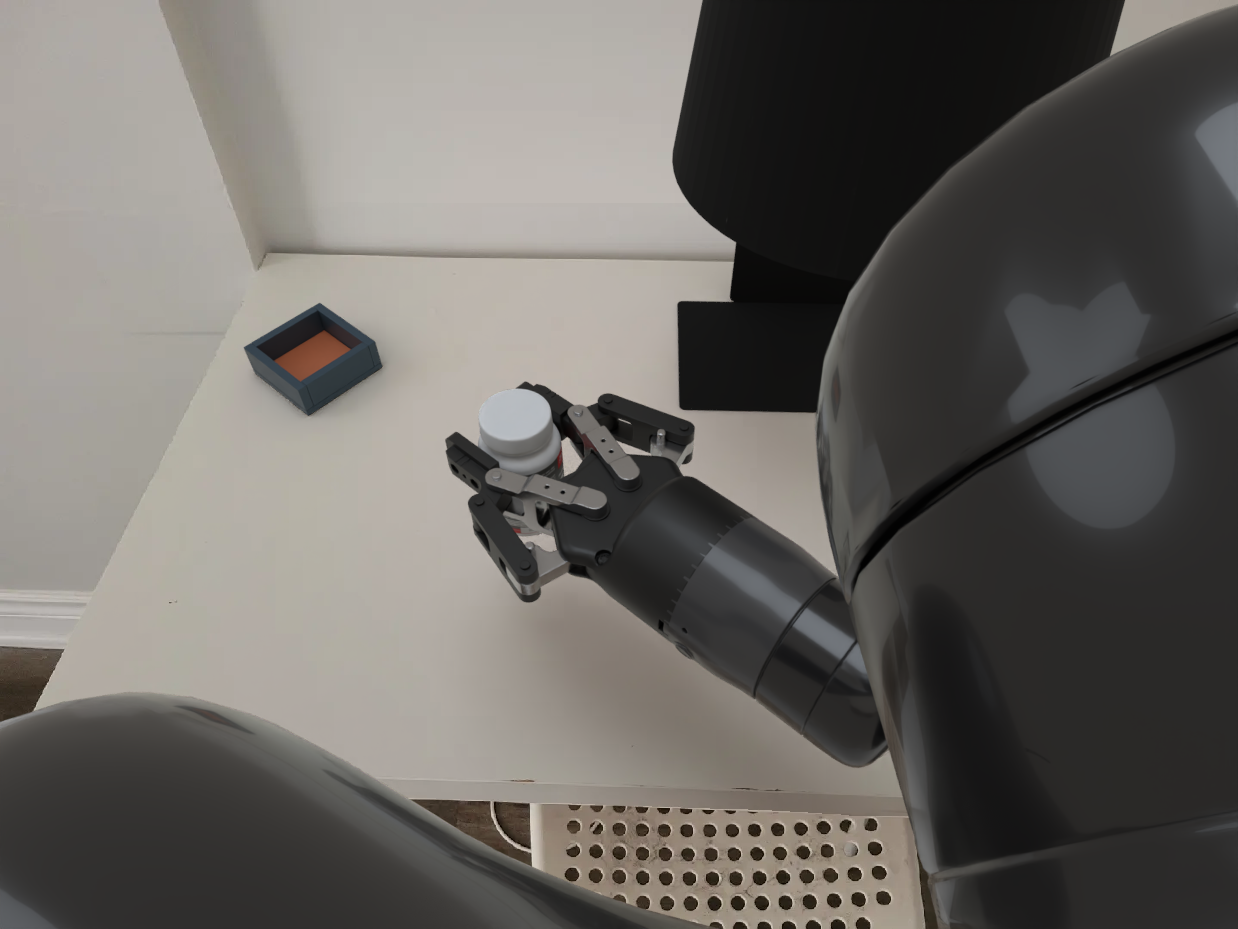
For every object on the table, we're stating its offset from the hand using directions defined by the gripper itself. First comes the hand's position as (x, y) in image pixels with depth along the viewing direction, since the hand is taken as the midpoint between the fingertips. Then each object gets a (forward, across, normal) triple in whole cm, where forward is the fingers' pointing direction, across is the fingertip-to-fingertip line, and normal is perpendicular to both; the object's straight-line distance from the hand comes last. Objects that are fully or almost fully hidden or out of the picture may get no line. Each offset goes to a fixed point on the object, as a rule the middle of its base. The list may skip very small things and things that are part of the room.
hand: (487, 420), depth 51 cm
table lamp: (-5, -30, +18) cm, 36 cm away
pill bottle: (-3, 0, +6) cm, 7 cm away
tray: (+30, -4, +17) cm, 35 cm away
